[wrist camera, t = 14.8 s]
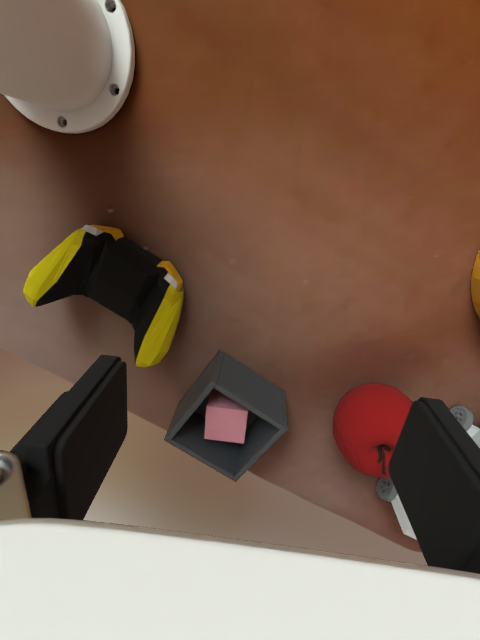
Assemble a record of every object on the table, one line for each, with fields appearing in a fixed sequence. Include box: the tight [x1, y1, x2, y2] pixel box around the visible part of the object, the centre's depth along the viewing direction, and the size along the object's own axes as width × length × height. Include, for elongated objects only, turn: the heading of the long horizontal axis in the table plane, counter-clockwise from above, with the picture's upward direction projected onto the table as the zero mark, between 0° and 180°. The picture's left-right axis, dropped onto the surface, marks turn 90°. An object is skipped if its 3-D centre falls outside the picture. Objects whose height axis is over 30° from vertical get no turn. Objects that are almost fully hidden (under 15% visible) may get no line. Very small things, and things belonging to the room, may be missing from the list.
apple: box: [333, 383, 413, 478], centre depth 35 cm, size 9×9×10 cm
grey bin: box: [164, 350, 288, 482], centre depth 38 cm, size 9×9×6 cm
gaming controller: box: [23, 225, 185, 367], centre depth 34 cm, size 15×6×10 cm
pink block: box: [204, 388, 248, 444], centre depth 39 cm, size 4×4×4 cm
